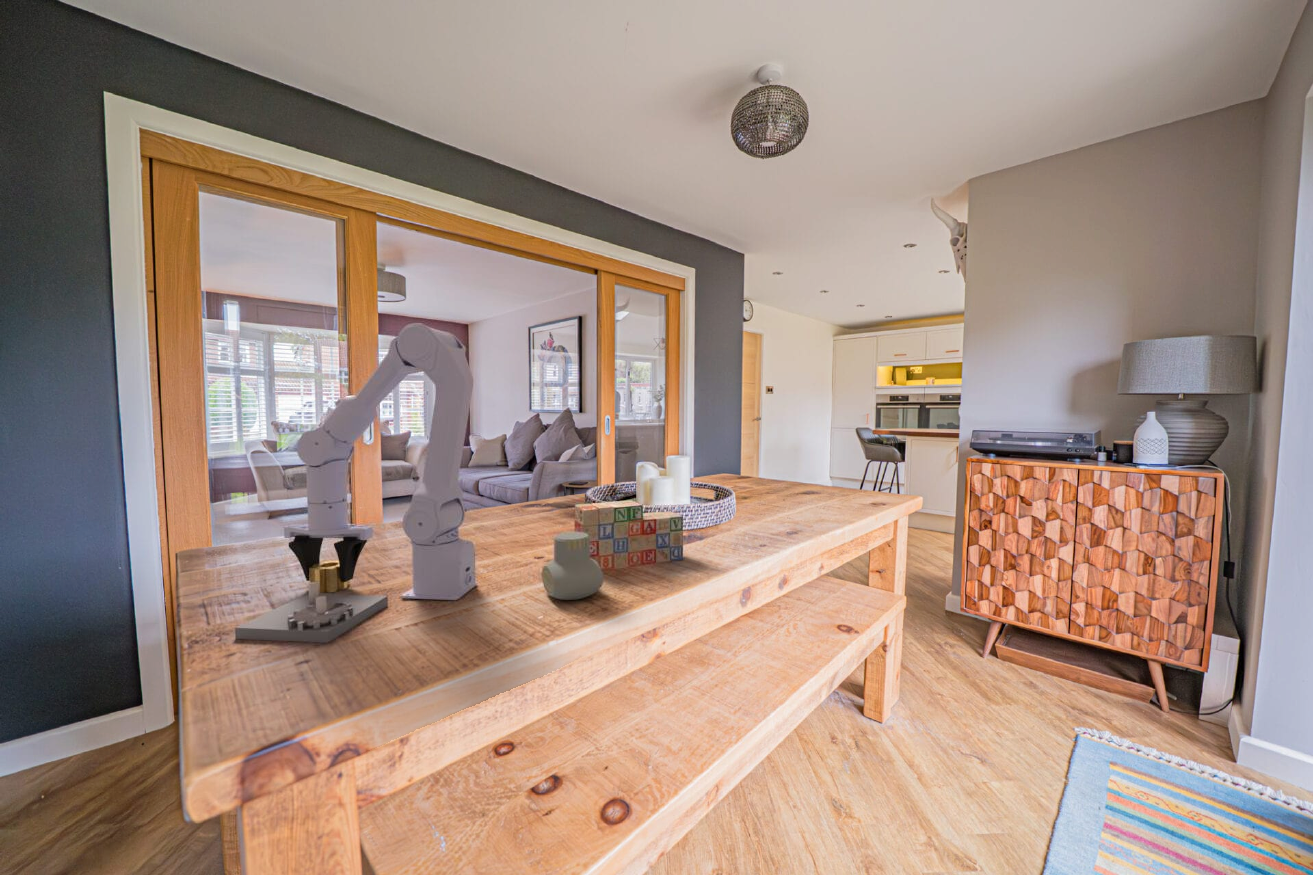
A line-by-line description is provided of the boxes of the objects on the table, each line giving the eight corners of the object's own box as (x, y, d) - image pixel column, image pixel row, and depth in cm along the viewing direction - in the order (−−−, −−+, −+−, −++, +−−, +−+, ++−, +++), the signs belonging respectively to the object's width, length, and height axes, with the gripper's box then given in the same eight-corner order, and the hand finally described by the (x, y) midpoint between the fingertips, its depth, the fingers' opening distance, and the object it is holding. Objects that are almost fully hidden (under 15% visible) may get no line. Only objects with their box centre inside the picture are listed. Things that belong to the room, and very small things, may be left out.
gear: (365, 609, 74) (365, 602, 74) (327, 631, 66) (327, 624, 66) (316, 607, 75) (315, 600, 74) (273, 629, 67) (272, 621, 67)
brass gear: (356, 582, 90) (356, 560, 89) (333, 594, 84) (333, 570, 84) (326, 581, 90) (325, 559, 90) (301, 592, 84) (300, 569, 84)
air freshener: (539, 588, 88) (538, 531, 87) (584, 581, 92) (584, 526, 91) (557, 610, 78) (557, 546, 78) (607, 601, 82) (607, 540, 81)
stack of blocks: (670, 552, 111) (671, 496, 110) (683, 560, 105) (684, 501, 104) (574, 564, 102) (574, 503, 101) (582, 573, 96) (582, 509, 96)
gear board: (387, 605, 79) (387, 576, 79) (327, 642, 66) (326, 609, 66) (309, 602, 80) (308, 574, 80) (235, 638, 67) (234, 605, 67)
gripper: (382, 497, 90) (384, 573, 90) (305, 496, 91) (307, 570, 91) (356, 505, 83) (358, 587, 83) (272, 503, 84) (275, 584, 84)
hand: (329, 579), depth 87 cm, fingers closed on brass gear, 6 cm apart
